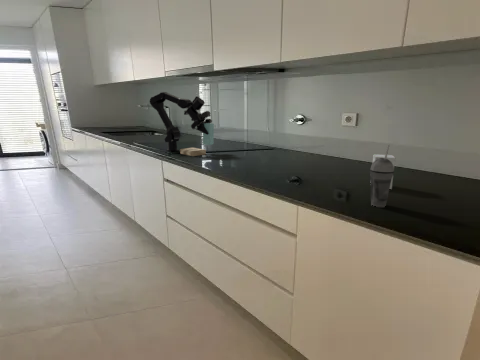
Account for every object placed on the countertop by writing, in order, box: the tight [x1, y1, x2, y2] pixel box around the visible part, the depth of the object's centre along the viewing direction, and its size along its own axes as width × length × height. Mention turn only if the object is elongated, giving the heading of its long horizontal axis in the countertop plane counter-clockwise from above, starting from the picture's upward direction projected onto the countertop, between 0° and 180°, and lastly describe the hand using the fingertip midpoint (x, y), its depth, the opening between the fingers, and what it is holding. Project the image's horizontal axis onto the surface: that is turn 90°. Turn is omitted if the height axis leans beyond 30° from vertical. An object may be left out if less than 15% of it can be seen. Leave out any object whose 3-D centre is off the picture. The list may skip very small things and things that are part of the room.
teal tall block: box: [202, 122, 215, 146], centre depth 210 cm, size 5×5×13 cm
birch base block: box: [179, 147, 207, 157], centre depth 212 cm, size 14×10×3 cm
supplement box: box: [372, 153, 396, 190], centre depth 130 cm, size 7×7×13 cm
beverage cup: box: [369, 144, 395, 208], centre depth 106 cm, size 7×7×20 cm
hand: (210, 133), depth 209 cm, fingers closed on teal tall block, 5 cm apart
